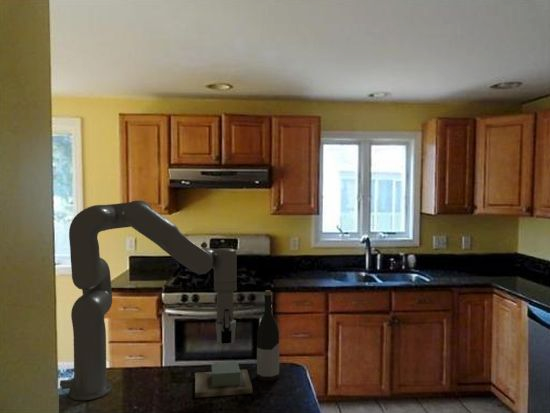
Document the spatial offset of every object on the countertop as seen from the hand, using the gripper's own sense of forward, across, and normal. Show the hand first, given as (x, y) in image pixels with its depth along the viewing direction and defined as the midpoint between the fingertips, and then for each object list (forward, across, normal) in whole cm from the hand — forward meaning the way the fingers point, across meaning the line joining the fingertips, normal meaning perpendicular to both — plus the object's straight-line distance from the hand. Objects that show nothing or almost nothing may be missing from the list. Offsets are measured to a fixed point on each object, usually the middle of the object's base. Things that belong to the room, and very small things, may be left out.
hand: (225, 339), depth 145 cm
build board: (+15, 0, -1) cm, 15 cm away
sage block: (+14, 0, 0) cm, 14 cm away
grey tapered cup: (+1, 0, 0) cm, 1 cm away
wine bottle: (+15, -4, +15) cm, 22 cm away
